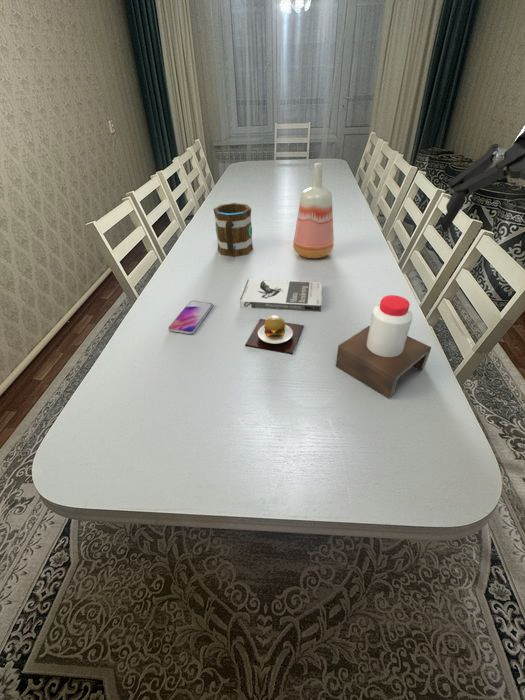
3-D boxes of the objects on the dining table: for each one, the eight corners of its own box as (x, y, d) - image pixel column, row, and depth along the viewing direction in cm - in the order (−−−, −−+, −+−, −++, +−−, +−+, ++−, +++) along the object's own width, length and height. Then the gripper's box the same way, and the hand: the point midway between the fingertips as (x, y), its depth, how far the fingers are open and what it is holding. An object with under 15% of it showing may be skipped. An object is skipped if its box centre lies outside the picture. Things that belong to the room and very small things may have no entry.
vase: (287, 248, 135) (289, 161, 117) (322, 243, 138) (329, 157, 120) (302, 264, 124) (306, 170, 106) (339, 258, 127) (350, 166, 109)
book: (321, 287, 111) (322, 282, 109) (320, 311, 100) (321, 305, 99) (248, 284, 114) (248, 278, 112) (240, 307, 103) (239, 301, 102)
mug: (220, 242, 141) (216, 203, 132) (254, 242, 141) (252, 202, 131) (212, 264, 126) (207, 221, 117) (250, 264, 125) (248, 220, 116)
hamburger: (303, 326, 94) (304, 308, 91) (292, 354, 85) (293, 335, 82) (260, 320, 97) (259, 302, 94) (245, 346, 89) (244, 327, 85)
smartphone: (213, 303, 103) (192, 332, 92) (214, 305, 104) (192, 335, 93) (190, 299, 105) (166, 328, 94) (191, 302, 105) (167, 331, 94)
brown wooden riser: (424, 368, 80) (431, 347, 77) (389, 399, 73) (395, 377, 70) (371, 340, 89) (376, 320, 85) (335, 366, 82) (338, 345, 78)
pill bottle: (390, 362, 73) (401, 317, 66) (359, 345, 78) (366, 301, 71) (410, 346, 77) (423, 302, 70) (379, 331, 82) (389, 288, 75)
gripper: (638, 151, 57) (560, 268, 58) (477, 136, 72) (419, 229, 73) (653, 114, 51) (567, 245, 52) (474, 106, 66) (411, 209, 67)
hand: (480, 236), depth 63 cm, fingers open, 13 cm apart
